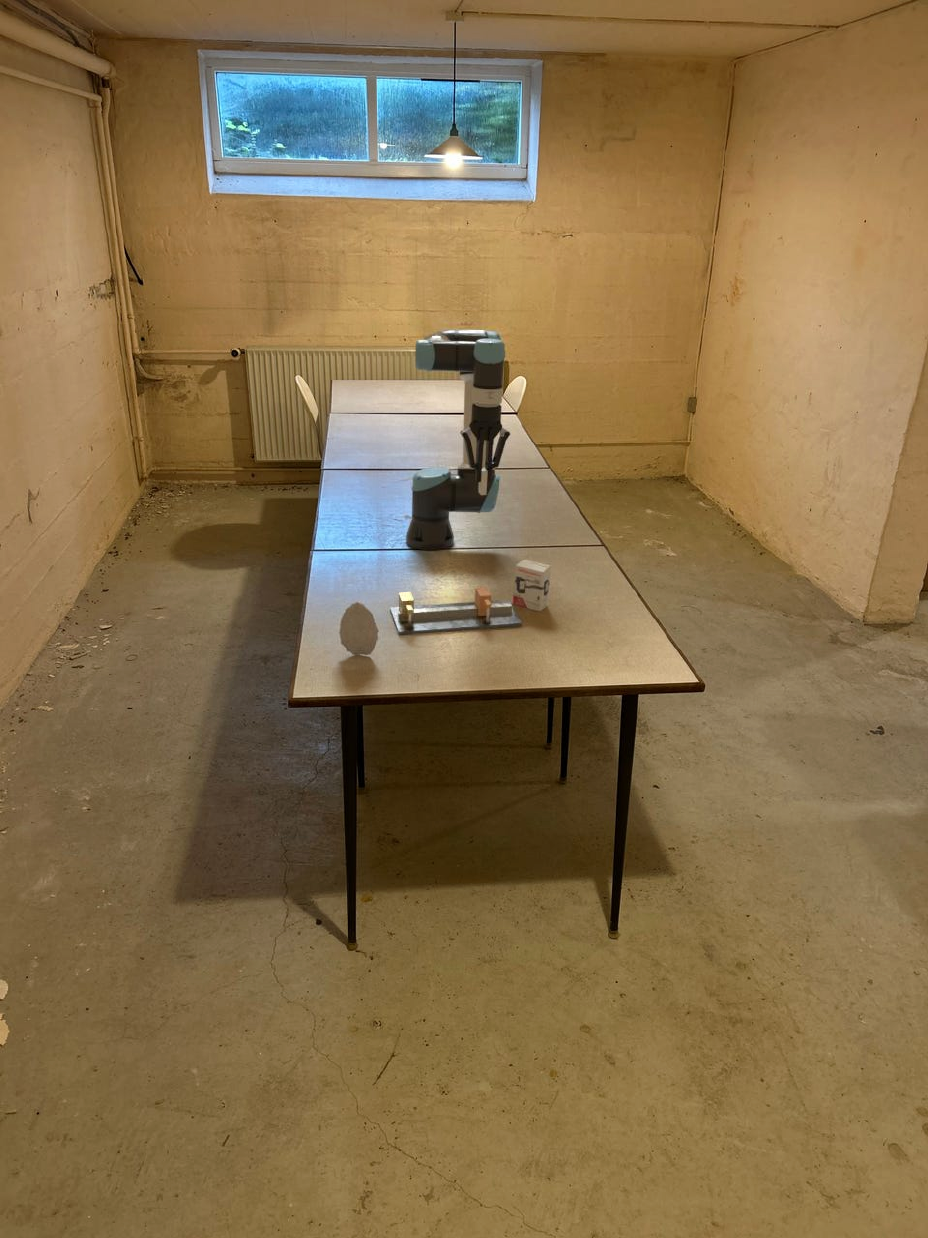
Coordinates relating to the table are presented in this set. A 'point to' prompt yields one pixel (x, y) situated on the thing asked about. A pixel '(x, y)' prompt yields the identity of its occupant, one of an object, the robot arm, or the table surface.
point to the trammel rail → (441, 610)
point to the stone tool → (358, 630)
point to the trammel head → (483, 602)
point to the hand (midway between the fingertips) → (482, 493)
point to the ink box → (531, 585)
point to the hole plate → (455, 621)
